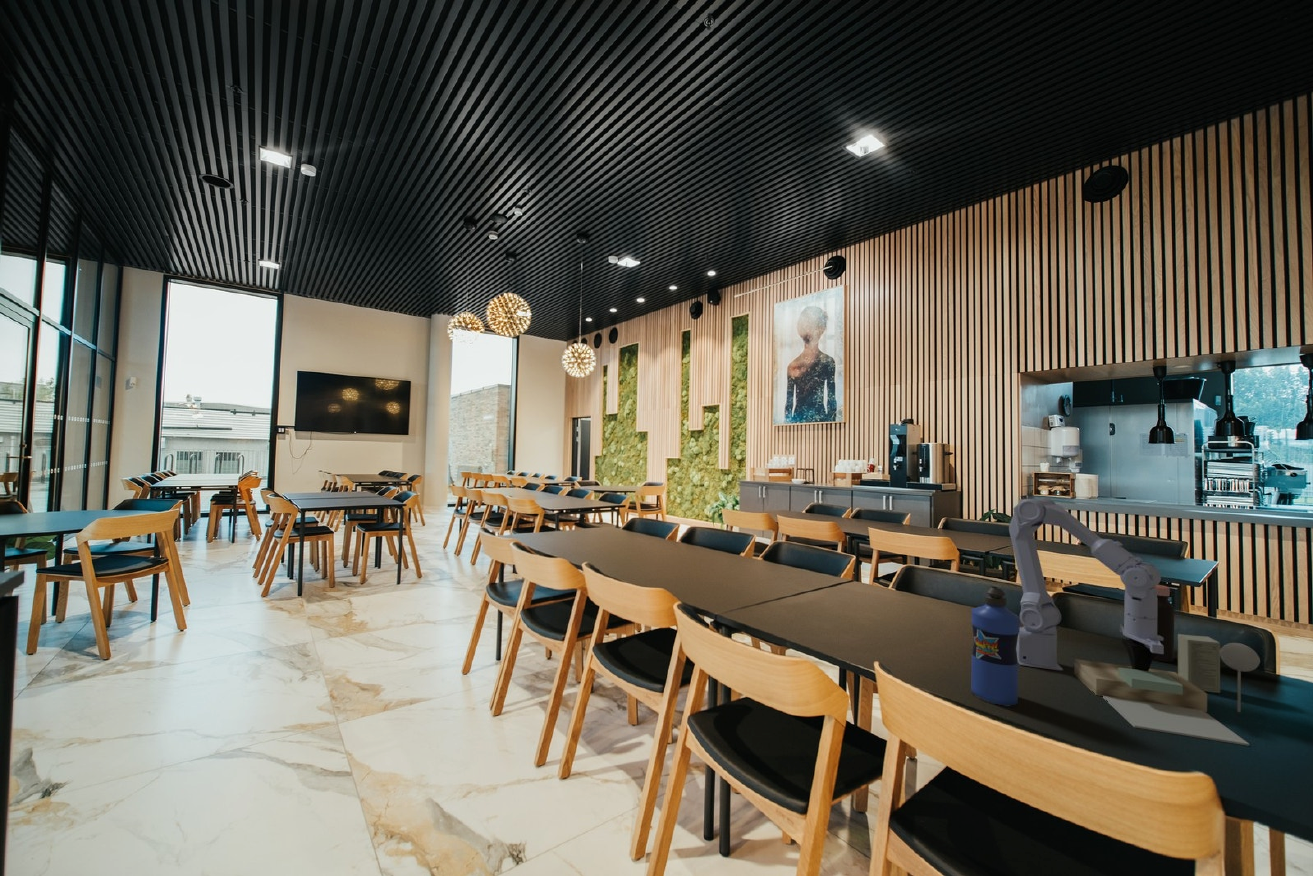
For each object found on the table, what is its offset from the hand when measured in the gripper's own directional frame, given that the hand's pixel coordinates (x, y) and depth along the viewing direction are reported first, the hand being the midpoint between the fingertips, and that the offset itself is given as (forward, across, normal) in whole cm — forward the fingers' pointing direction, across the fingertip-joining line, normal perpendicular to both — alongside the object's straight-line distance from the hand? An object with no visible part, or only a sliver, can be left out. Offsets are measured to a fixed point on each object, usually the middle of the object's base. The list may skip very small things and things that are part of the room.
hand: (1140, 673), depth 123 cm
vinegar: (+5, +31, -17) cm, 35 cm away
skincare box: (+5, +11, -16) cm, 20 cm away
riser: (+5, +2, 0) cm, 5 cm away
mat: (+5, -12, 0) cm, 13 cm away
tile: (+1, -4, 0) cm, 4 cm away
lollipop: (+5, -1, -17) cm, 18 cm away
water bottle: (+5, -14, +33) cm, 36 cm away
